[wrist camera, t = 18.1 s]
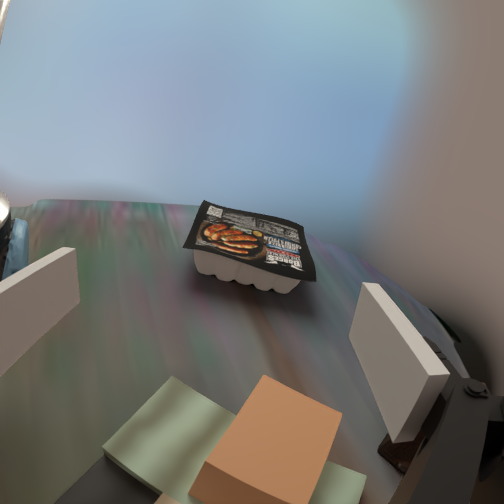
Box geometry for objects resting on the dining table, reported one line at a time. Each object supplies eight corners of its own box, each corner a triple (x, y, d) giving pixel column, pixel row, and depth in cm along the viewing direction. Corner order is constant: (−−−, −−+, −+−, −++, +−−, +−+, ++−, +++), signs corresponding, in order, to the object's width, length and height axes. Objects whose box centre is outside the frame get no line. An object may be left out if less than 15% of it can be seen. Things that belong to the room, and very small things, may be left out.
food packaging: (183, 244, 55) (204, 197, 74) (177, 277, 58) (198, 224, 78) (317, 278, 57) (304, 224, 77) (303, 308, 61) (294, 249, 80)
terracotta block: (187, 493, 24) (205, 460, 18) (233, 429, 32) (263, 374, 26) (256, 528, 22) (305, 509, 16) (292, 460, 30) (342, 413, 24)
